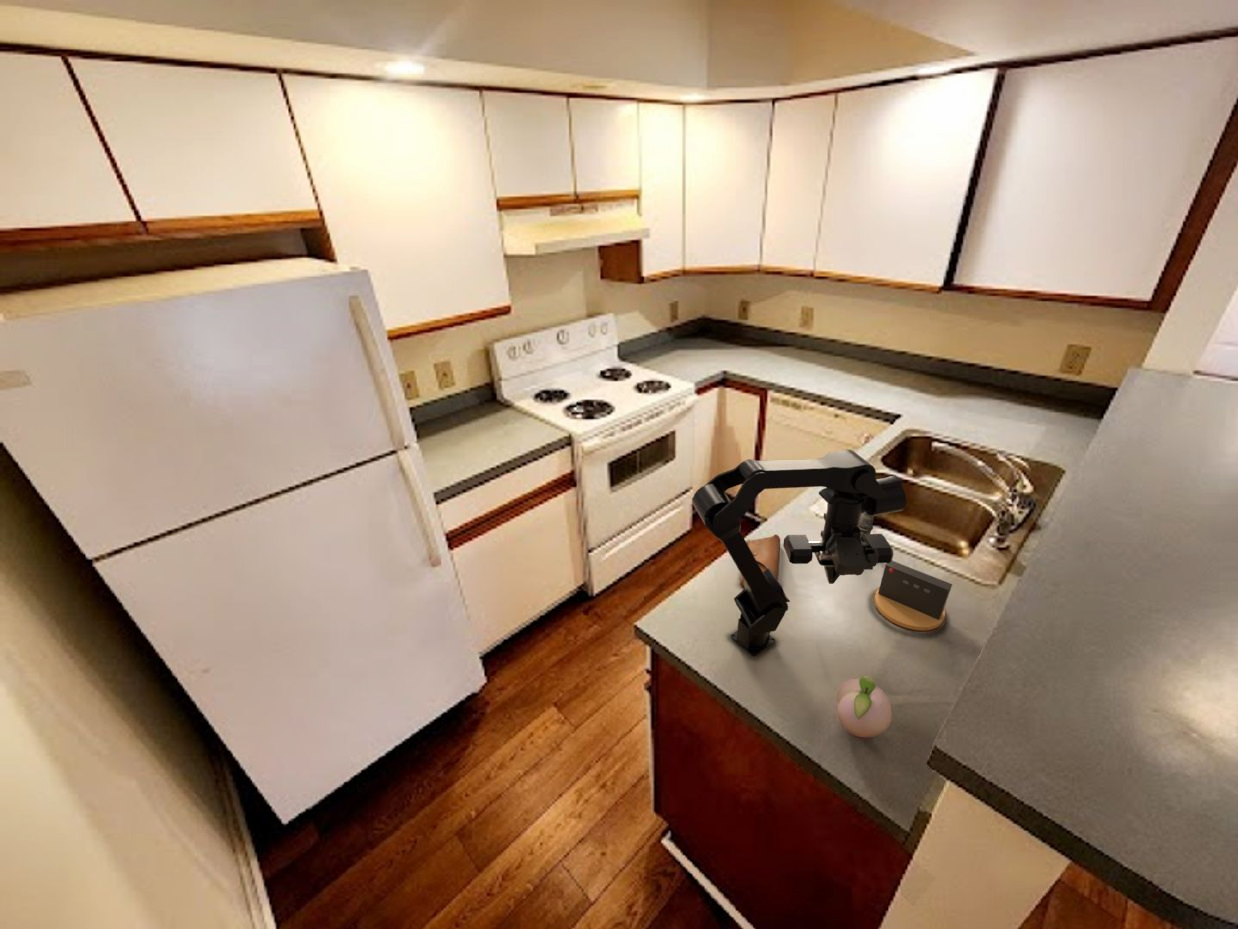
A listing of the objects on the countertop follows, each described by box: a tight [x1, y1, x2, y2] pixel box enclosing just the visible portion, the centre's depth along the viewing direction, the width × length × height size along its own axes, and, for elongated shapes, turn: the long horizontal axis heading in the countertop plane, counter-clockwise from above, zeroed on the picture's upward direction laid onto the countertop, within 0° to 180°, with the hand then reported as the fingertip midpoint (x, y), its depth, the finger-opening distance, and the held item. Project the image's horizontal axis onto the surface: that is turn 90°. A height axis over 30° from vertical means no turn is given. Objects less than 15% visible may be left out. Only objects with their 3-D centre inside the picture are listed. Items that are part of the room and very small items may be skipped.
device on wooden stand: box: [874, 560, 953, 630], centre depth 111 cm, size 13×13×9 cm
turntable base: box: [871, 589, 947, 633], centre depth 113 cm, size 14×14×1 cm
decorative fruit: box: [836, 675, 892, 738], centre depth 88 cm, size 9×8×10 cm
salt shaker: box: [859, 511, 875, 542], centre depth 128 cm, size 6×6×12 cm
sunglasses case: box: [739, 534, 781, 587], centre depth 127 cm, size 18×7×7 cm
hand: (830, 582), depth 105 cm, fingers closed
